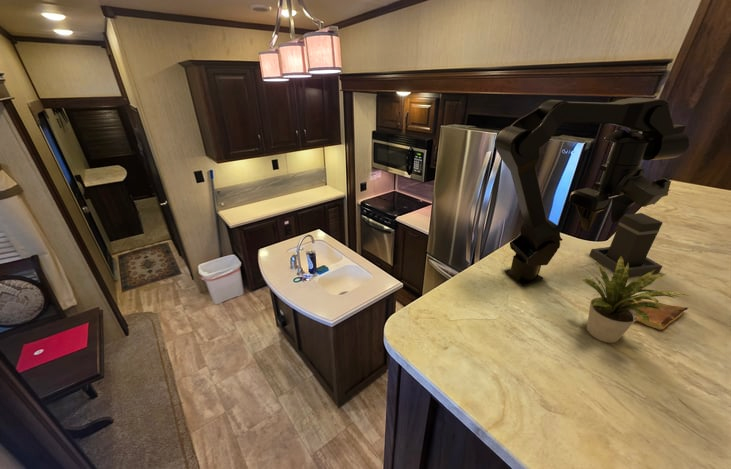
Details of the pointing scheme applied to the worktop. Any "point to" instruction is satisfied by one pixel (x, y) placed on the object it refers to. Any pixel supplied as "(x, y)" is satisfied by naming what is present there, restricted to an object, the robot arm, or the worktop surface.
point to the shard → (661, 315)
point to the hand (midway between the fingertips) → (600, 226)
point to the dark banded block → (634, 239)
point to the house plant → (621, 302)
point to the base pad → (647, 267)
